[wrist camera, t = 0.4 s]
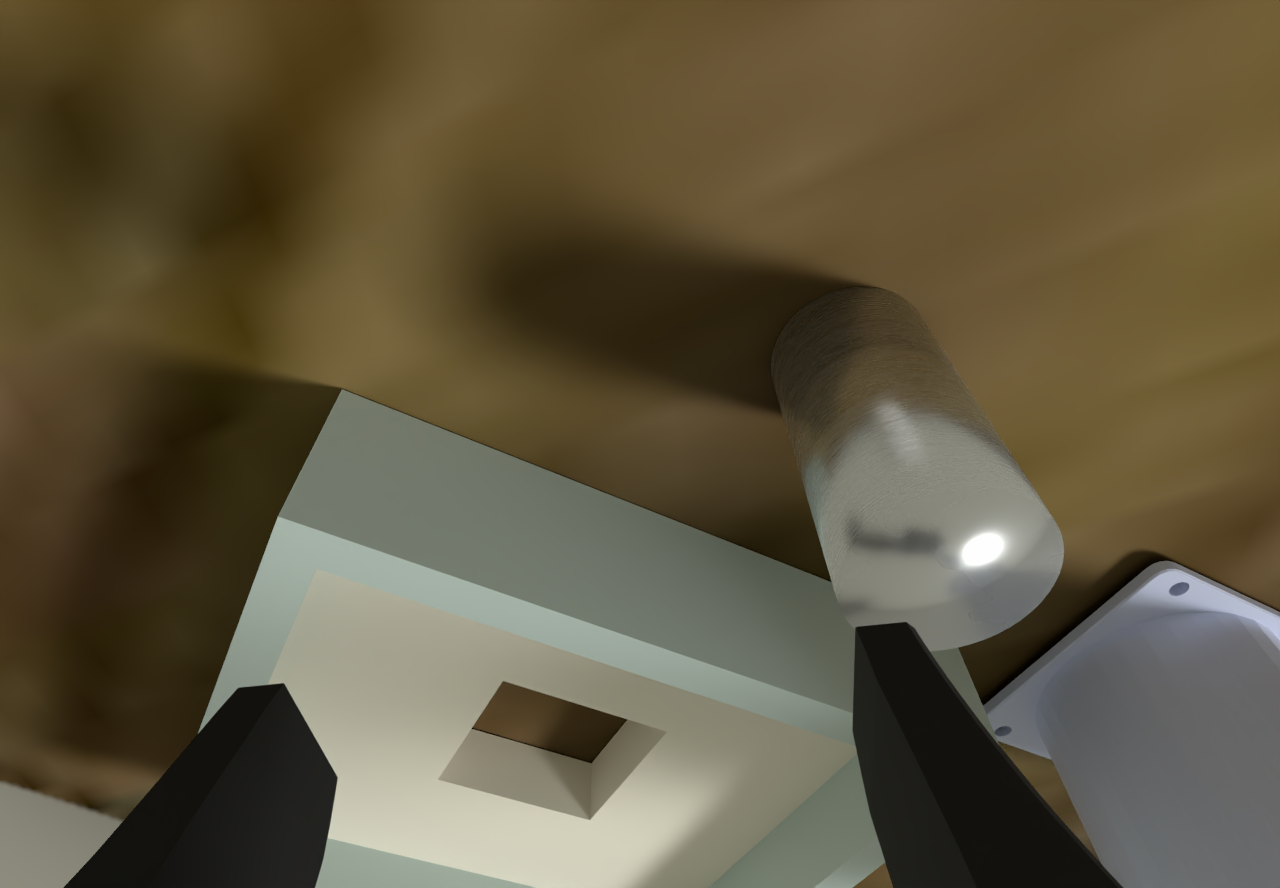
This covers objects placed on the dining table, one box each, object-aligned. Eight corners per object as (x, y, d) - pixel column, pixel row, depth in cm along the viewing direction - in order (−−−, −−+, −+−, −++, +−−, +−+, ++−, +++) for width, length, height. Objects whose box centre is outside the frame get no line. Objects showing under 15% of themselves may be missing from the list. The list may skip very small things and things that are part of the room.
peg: (962, 328, 19) (1113, 538, 13) (865, 445, 21) (961, 674, 15) (831, 259, 18) (932, 453, 12) (740, 388, 20) (792, 610, 14)
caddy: (950, 628, 25) (1008, 766, 21) (680, 882, 33) (687, 1014, 29) (342, 389, 19) (277, 516, 16) (199, 761, 27) (135, 903, 24)
